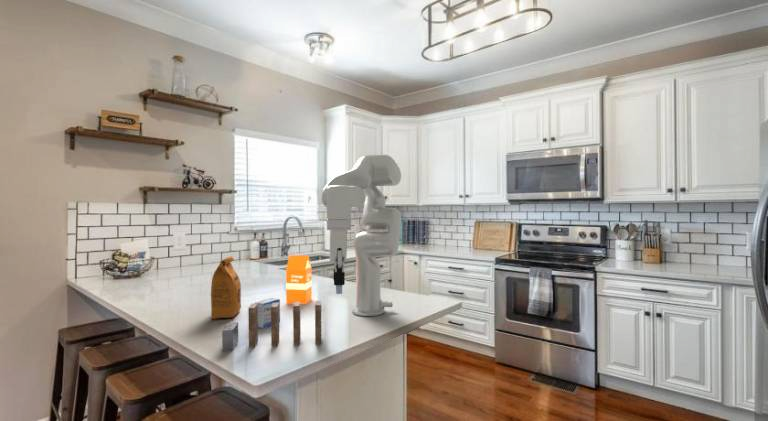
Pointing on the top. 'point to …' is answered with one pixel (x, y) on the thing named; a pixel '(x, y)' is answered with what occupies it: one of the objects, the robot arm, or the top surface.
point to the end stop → (230, 336)
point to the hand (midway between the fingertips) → (338, 282)
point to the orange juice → (298, 279)
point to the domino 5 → (338, 287)
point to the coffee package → (225, 291)
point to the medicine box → (266, 312)
